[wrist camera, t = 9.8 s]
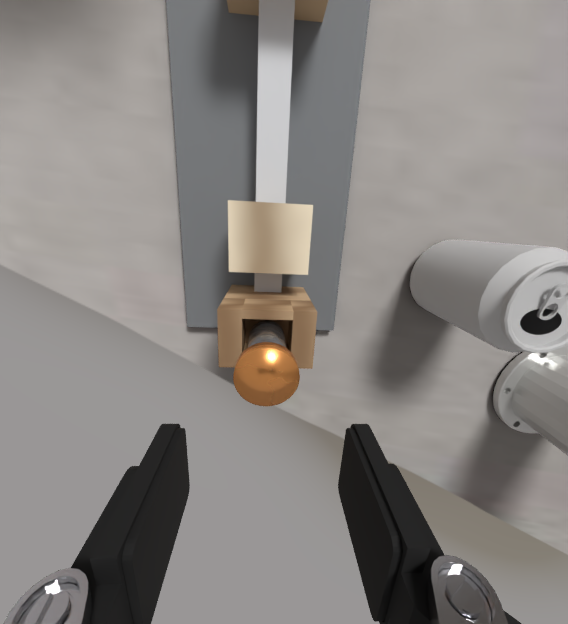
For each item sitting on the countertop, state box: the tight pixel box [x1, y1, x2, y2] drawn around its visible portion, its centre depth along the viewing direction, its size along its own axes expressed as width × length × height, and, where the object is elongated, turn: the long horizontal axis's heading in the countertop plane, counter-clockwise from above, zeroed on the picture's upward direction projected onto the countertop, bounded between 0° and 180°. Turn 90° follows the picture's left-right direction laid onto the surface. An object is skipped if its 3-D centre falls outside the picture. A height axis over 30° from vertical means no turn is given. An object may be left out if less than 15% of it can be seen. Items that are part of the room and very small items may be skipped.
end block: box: [217, 285, 317, 369], centre depth 23 cm, size 7×4×8 cm, turn 87°
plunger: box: [233, 320, 300, 406], centre depth 17 cm, size 4×4×6 cm
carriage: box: [228, 200, 313, 275], centre depth 22 cm, size 6×5×5 cm
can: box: [410, 239, 568, 354], centre depth 23 cm, size 8×8×12 cm
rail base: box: [166, 0, 370, 330], centre depth 21 cm, size 15×28×7 cm, turn 177°
